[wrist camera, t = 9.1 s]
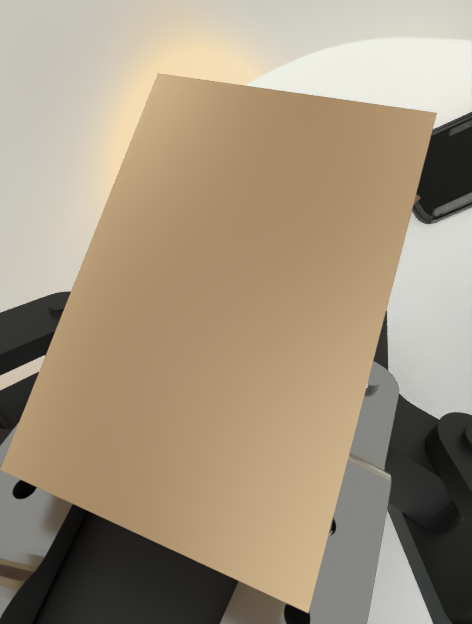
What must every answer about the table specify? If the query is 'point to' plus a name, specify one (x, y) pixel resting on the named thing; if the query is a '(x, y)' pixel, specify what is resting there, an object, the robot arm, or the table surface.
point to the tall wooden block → (228, 326)
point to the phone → (446, 172)
